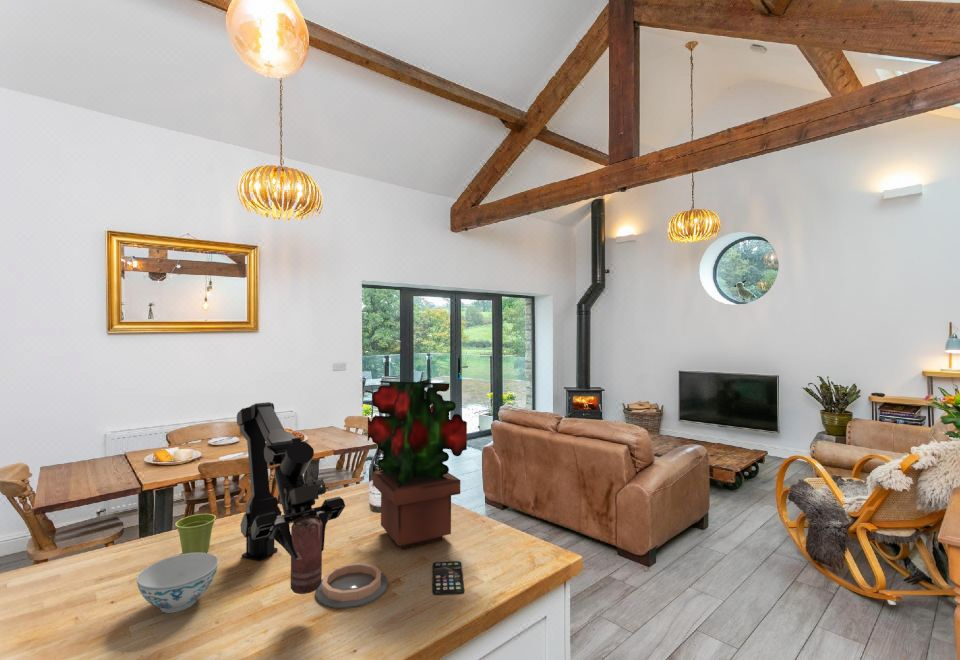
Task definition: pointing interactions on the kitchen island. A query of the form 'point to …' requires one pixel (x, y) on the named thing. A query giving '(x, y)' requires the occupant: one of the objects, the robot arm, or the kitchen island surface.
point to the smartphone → (447, 578)
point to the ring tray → (351, 586)
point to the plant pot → (195, 532)
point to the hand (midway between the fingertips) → (309, 554)
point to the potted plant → (416, 459)
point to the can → (306, 554)
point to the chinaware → (177, 580)
